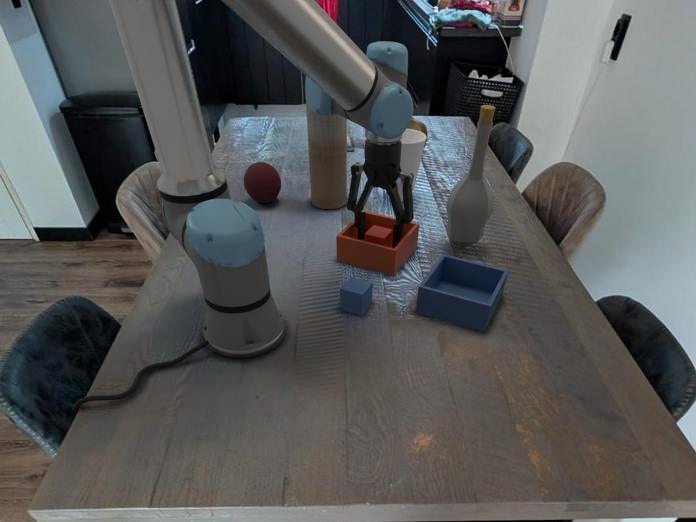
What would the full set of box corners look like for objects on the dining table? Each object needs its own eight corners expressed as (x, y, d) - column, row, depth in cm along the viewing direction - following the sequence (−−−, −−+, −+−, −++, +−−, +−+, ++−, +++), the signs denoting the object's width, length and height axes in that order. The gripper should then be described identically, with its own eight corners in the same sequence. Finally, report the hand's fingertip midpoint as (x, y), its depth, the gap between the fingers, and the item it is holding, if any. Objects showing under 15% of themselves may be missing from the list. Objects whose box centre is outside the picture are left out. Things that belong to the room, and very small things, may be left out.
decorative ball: (273, 211, 128) (268, 172, 121) (240, 205, 130) (233, 167, 123) (288, 197, 135) (285, 159, 127) (257, 191, 137) (252, 154, 129)
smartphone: (349, 134, 170) (353, 148, 160) (349, 136, 171) (353, 151, 161) (329, 133, 170) (331, 148, 159) (329, 136, 170) (331, 151, 160)
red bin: (393, 275, 107) (395, 250, 103) (336, 260, 111) (336, 235, 107) (417, 247, 116) (419, 223, 112) (363, 234, 120) (363, 210, 116)
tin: (398, 140, 170) (400, 113, 164) (406, 139, 171) (408, 112, 164) (419, 154, 160) (421, 126, 154) (427, 153, 161) (430, 125, 155)
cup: (398, 209, 131) (402, 146, 119) (370, 195, 137) (372, 133, 125) (428, 198, 136) (436, 137, 124) (400, 185, 142) (405, 125, 131)
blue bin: (484, 332, 94) (490, 306, 89) (415, 312, 98) (418, 286, 93) (502, 295, 103) (509, 270, 98) (438, 278, 107) (442, 253, 102)
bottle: (449, 260, 112) (474, 116, 90) (432, 238, 120) (451, 100, 98) (492, 255, 115) (527, 113, 93) (473, 234, 122) (500, 98, 100)
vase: (353, 200, 134) (354, 83, 114) (334, 213, 128) (331, 92, 108) (324, 192, 137) (320, 77, 117) (304, 204, 132) (296, 85, 111)
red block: (383, 258, 111) (384, 238, 107) (363, 253, 112) (364, 233, 109) (391, 249, 114) (392, 229, 110) (372, 244, 116) (373, 224, 112)
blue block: (361, 316, 96) (362, 294, 93) (340, 309, 98) (339, 288, 94) (372, 303, 99) (373, 282, 96) (350, 297, 101) (351, 276, 97)
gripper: (438, 142, 95) (425, 248, 111) (345, 125, 101) (345, 229, 117) (425, 154, 90) (413, 263, 107) (328, 136, 96) (331, 241, 113)
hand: (378, 245), depth 112 cm, fingers open, 8 cm apart
